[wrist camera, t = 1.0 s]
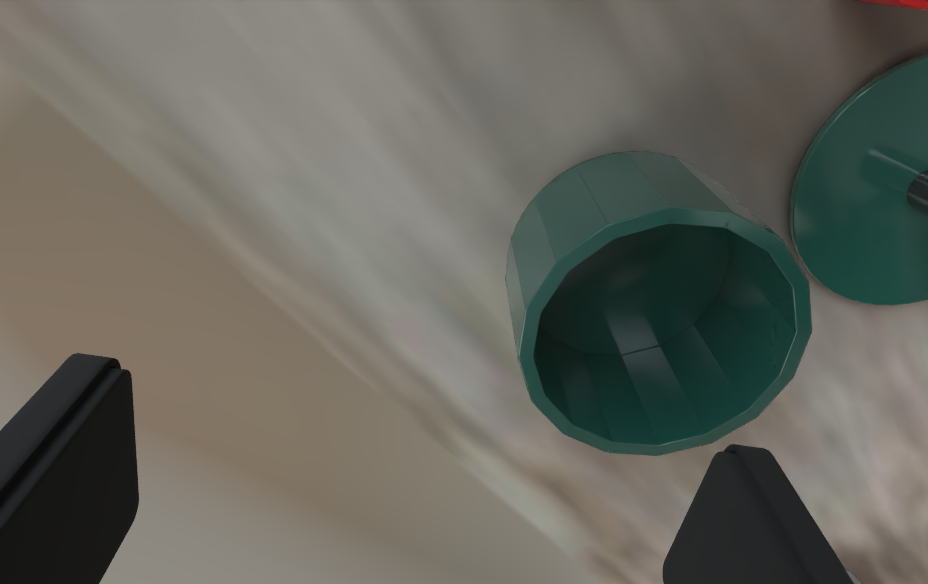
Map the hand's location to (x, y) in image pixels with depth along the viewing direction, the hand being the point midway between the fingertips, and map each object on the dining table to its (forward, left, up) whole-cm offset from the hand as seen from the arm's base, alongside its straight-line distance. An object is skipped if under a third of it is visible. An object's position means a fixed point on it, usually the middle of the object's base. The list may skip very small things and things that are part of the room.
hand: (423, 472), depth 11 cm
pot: (+13, +8, -29) cm, 33 cm away
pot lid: (+13, +26, -29) cm, 41 cm away
